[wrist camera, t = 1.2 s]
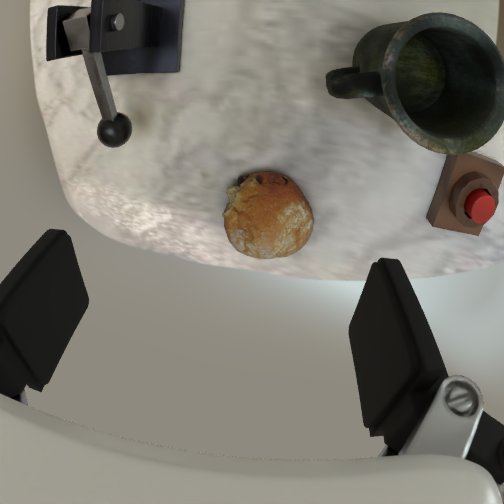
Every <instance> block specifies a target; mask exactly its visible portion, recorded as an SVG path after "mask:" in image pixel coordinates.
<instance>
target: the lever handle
mask: <svg viewBox="0 0 504 504" xmlns="http://www.w3.org/2000/svg"><path fill="white" fill-rule="evenodd" d="M90 15H91V7H88V8H84V9H79V10H77V11H76V12H75V13H73V14H72V15H70V16H69V17H68V18H66V19H65V20H64V21H63V22H62V23H63V27H64V31H65V34H66V38H67V41H68V45H69V48H70V51H74V50H79V49H81V50H82V54H83V57H84V61H85V64H86V68H87V71H88V74H89V78H90V81H91V84H92V87H93V91H94V94H95V97H96V100H97V103H98V106H99V109H100V112H101V115H102V119H101V121H100V122H99V124H98V127H97V135H98V138H99V140H100V142H101V143H102V144H104V145H105V146H107V147H111V148H115V147H119V146H122V145H123V144H125V143H126V142H127V141H128V140H129V138H130V136H131V133H132V123H131V121H130V119H129V118H128V117H127V116H126V115H125V114H123V113H120V112H117V110H116V107H115V103H114V100H113V96H112V93H111V89H110V85H109V82H108V78H107V74H106V70H105V66H104V63H103V59H102V55H101V52H96V53H89V36H90Z"/></svg>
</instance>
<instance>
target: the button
mask: <svg viewBox="0 0 504 504" xmlns="http://www.w3.org/2000/svg"><path fill="white" fill-rule="evenodd" d="M465 210H466V212H467V214H468V215H469V216H470V217H471V218H472V219H473V221H474V222H476V223H484V222H486V221H488V220H489V219H490V218H491V216H492V215H493V213H494V210H495V202H494V200H493V198H492V197H491V196H490V195H489V194H488V193H487V192H486V191H484V190H483V189H476V190H474V191H472V192H471V193H470V194H469V195H468V197H467V199H466V201H465Z"/></svg>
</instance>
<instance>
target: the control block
mask: <svg viewBox="0 0 504 504" xmlns="http://www.w3.org/2000/svg"><path fill="white" fill-rule="evenodd" d="M503 175H504V166H503V165H502V164H500V163H499V162H497V161H495V160H493V159H490V158H488V157H485V156H482V155H480V154H477V153H474V152H472V151H471V152H468V153H463V154H458V155H447V159H446V162H445V165H444V168H443V171H442V174H441V177H440V180H439V183H438V186H437V189H436V192H435V195H434V198H433V201H432V203H431V206H430V209H429V211H428V214H427V217H426V218H427V219H428V221H429V222H430V224H431V225H432V227H437V228H442V229H447V230H452V231H457V232H462V233H467V234H472V235H477V236H479V234H480V232H481V229H482V227H483V225H484V224H485V223H486V222H487V221H486V222H484V223H476V222H474V221H473V219H472V218H471V217H470V216H469V215H468V214H467V212H466V210H465V201H466V199H467V197H468V195H469V194H470V193H471V192H472V191H474V190H476V189H483V190H484V191H486V192H487V193H488V194H489V195H490V196H491V197H492V198H493V200H494V202H495V210H496V208H497V205H498V203H499V201H498V189H499V186H500V183H501V181H502V178H503ZM495 210H494V213H495ZM494 213H493V215H494ZM493 215H492V216H493ZM492 216H491V217H492Z"/></svg>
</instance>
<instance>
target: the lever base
mask: <svg viewBox="0 0 504 504" xmlns="http://www.w3.org/2000/svg"><path fill="white" fill-rule="evenodd" d="M184 2H185V0H92V2H91V15H90V36H89V53H96V52H101V55H102V59H103V63H104V66H105V70H106V74H107V75H120V74H136V73H166V72H179V71H180V55H181V39H182V25H183V13H184ZM84 8H88V7H80V6H61V5H57V6H54V7H50V8H48V16H47V41H46V60H47V61H51V60H55V59H60V58H66V57H71V56H77V55H83V54H82V50H81V49H79V50H74V51H70V48H69V45H68V41H67V38H66V34H65V31H64V27H63V23H62V22H63V21H64V20H65V19H66V18H68V17H69V16H70V15H72V14H73V13H75V12H76V11H77V10H79V9H84Z"/></svg>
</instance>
